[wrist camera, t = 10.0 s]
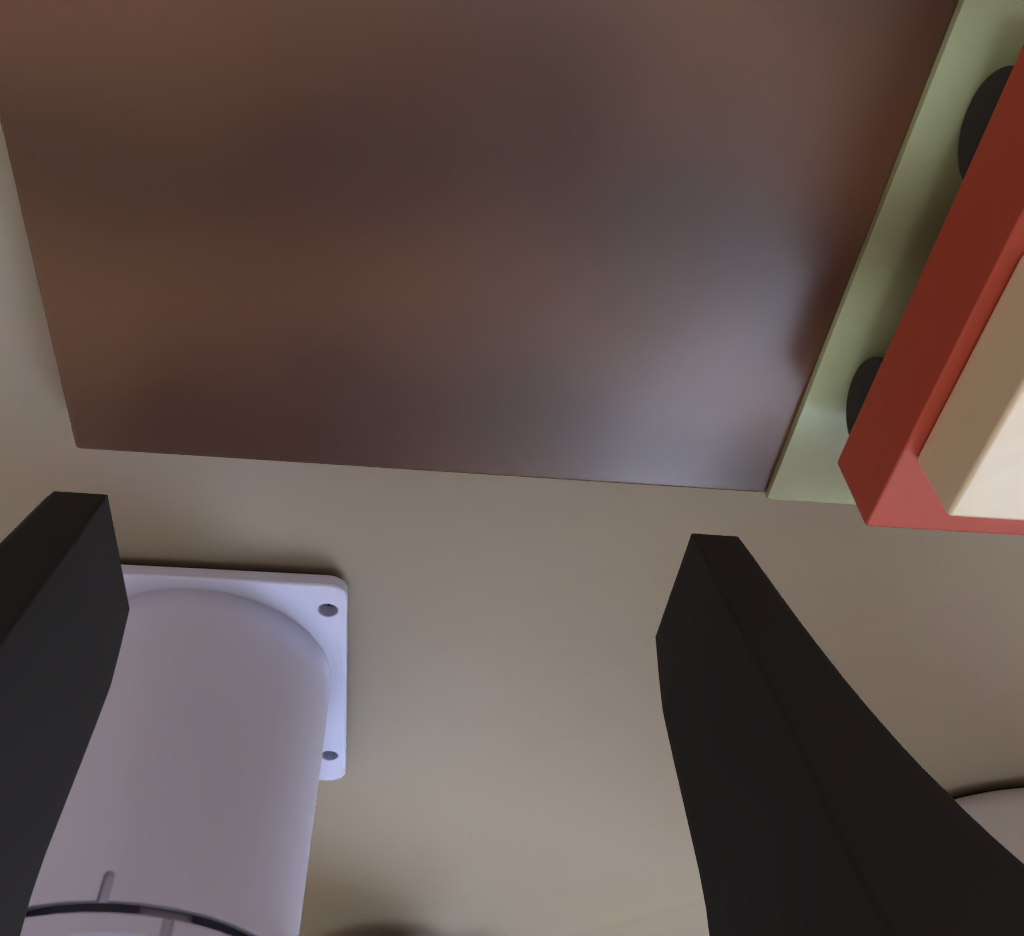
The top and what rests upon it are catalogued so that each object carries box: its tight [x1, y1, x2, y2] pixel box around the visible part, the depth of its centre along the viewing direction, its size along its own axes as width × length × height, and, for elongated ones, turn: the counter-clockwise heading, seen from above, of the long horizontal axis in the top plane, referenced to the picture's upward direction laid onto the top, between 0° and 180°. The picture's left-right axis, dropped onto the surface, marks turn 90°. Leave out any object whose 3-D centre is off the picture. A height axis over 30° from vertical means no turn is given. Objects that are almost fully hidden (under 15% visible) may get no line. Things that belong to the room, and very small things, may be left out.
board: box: [0, 0, 1024, 505], centre depth 18 cm, size 13×22×1 cm, turn 83°
